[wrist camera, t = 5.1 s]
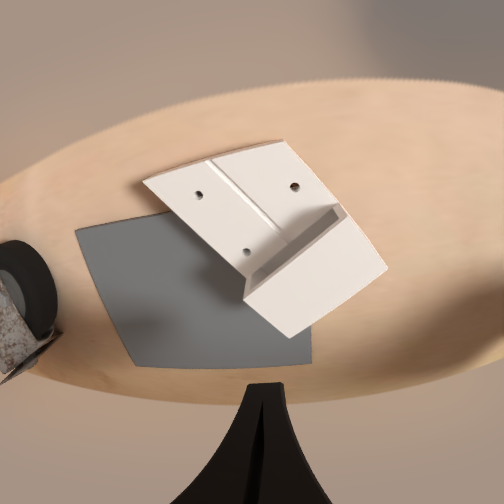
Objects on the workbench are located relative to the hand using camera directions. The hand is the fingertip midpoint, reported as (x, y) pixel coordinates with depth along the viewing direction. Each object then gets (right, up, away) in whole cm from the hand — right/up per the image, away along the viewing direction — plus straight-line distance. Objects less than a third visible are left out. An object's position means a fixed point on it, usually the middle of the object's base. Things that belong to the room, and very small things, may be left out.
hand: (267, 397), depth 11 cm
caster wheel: (-21, +2, +9) cm, 23 cm away
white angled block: (+3, +4, +4) cm, 6 cm away
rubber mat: (-4, +3, +7) cm, 9 cm away
